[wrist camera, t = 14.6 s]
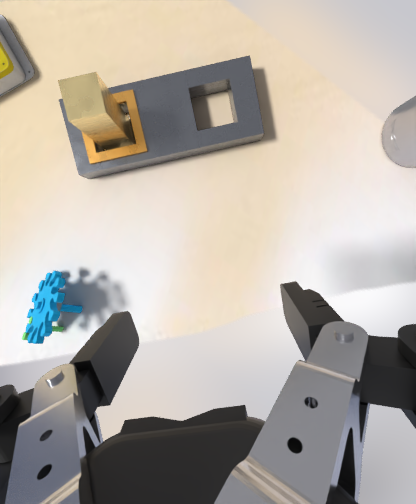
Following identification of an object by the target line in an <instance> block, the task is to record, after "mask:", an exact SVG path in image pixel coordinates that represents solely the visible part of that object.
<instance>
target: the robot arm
mask: <svg viewBox="0 0 416 504" xmlns="http://www.w3.org/2000/svg"><path fill="white" fill-rule="evenodd" d="M382 144H383V148H384V150H385V152H386V154H387V155H388V157H389V158H390V159H391V160H392V161H393V162H395V163H396V164H398V165H401V166H404V167H416V96H415V97H413V98H411V99H410V100H408V101H407V102H405V103H404V104H402V105H400V106H399V107H398V108H396V109H395V110H394V111H393V112H392V113H391V114H390V115H389V117H388V118H387V120H386V121H385V124H384V127H383V131H382ZM280 288H281V295H282V302H283V309H284V314H285V319H286V322H287V324H288V326H289V329H290V331H291V333H292V334H293V337H294V339H295V340H296V343H297V345H298V347H299V349H300V351H301V353H302V355H303V357H304V359H305V361H306V362H305V361H301V360H299V361H297V362H296V364H295V365H294V367H293V369H292V371H291V373H290V375H289V377H288V379H287V381H286V383H285V385H284V387H283V389H282V391H281V392H280V395H279V396H278V398H277V400H276V402H275V404H274V406H273V408H272V410H271V412H270V414H269V416H268V418H267V420H266V422H265V421H263V420H261V419H257V418H254V417H248V416H247V412H246V407H245V405H241V406H234V407H226V408H217V409H213V410H210V411H208V412H205V413H202V414H200V415H197V416H194V417H192V418H189V419H187V420H184V421H177V420H171V419H164V418H158V417H147V418H138V419H130V420H125V421H124V424H123V426H122V429H121V432H120V433H118V434H116V435H114V436H112V437H110V438H108V439H107V440H105V441H104V442H103V438H102V434H101V429H100V425H99V420H98V416H97V414H96V412H95V411H96V409H97V407H100V406H107V405H110V404H111V402H112V400H113V398H114V396H115V394H116V392H117V389H118V388H119V386H120V384H121V382H122V380H123V378H124V375H125V373H126V371H127V369H128V367H129V365H130V363H131V361H132V359H133V357H134V354H135V353H136V351H137V349H138V346H139V337H138V334H137V331H136V328H135V325H134V322H133V320H132V317H131V314H130V313H129V312H128V311H125V312H120V313H114V314H112V315H111V317H110V318H109V319H108V320H107V322H106V323H105V324H104V325H103V326H102V327H101V328H99V329H98V330H97V331H95V333H94V334H93V335H92V336H91V337H90V340H88V341H87V342H86V344H85V346H83V347H82V348H81V350H80V351H79V352H78V353H77V354H76V356H75V357H74V358H73V359H72V361H71V362H70V363H69V364H64V365H60V366H58V367H56V368H54V369H52V370H50V371H49V372H47V373H46V374H45V375H43V376H42V377H41V378H40V379H39V380H38V381H37V383H36V384H35V387H34V388H33V389H30V390H28V391H25V392H22V393H19V394H18V393H17V391H16V389H15V387H14V386H13V385H5V386H2V387H0V504H358V497H359V490H360V481H361V466H362V453H363V446H364V440H365V433H366V426H367V420H368V414H369V407H370V404H376V405H382V406H388V407H394V408H400V409H402V411H403V412H404V413H405V415H406V416H407V418H408V419H409V420H410V422H411V423H412V424H413V426H414V427H415V428H416V324H411V325H406V326H403V327H401V328H400V329H399V331H398V338H394V337H378V336H370V335H368V334H367V332H366V331H365V330H364V329H363V328H361V327H360V326H358V325H356V324H353V323H350V322H344V320H343V319H342V318H341V317H340V316H339V315H338V314H337V313H336V312H335V311H334V310H333V308H332V307H331V306H329V304H328V303H327V302H326V301H324V299H323V298H322V296H321V295H320V294H319V293H317V292H315V291H313V290H310V289H308V290H303V289H302V288H301V287H300V286H299V284H298V283H297V282H296V281H295V282H290V283H284V284H281V285H280Z"/></svg>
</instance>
